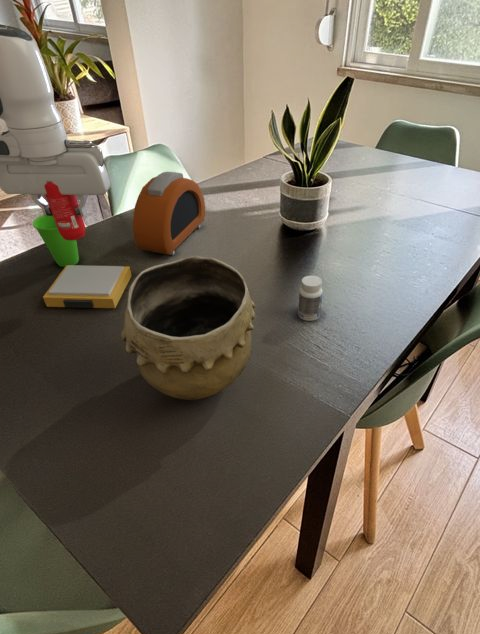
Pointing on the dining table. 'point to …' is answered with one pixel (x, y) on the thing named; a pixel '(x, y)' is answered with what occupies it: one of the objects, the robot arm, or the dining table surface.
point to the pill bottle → (310, 298)
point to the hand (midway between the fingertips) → (65, 214)
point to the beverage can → (65, 213)
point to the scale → (88, 286)
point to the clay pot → (189, 326)
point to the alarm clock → (167, 212)
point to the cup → (56, 241)
